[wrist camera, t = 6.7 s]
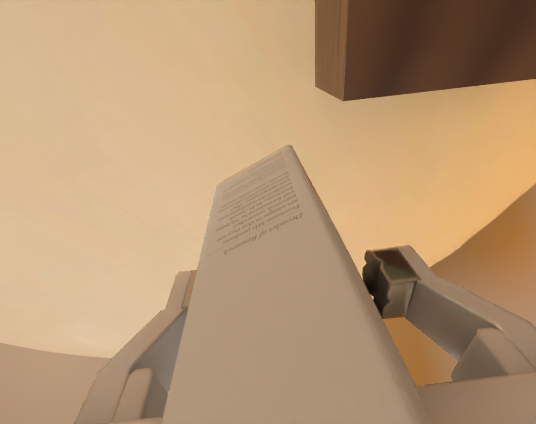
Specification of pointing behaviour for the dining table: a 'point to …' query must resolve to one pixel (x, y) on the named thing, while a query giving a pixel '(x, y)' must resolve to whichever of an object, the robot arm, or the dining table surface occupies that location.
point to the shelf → (421, 45)
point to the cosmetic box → (283, 316)
